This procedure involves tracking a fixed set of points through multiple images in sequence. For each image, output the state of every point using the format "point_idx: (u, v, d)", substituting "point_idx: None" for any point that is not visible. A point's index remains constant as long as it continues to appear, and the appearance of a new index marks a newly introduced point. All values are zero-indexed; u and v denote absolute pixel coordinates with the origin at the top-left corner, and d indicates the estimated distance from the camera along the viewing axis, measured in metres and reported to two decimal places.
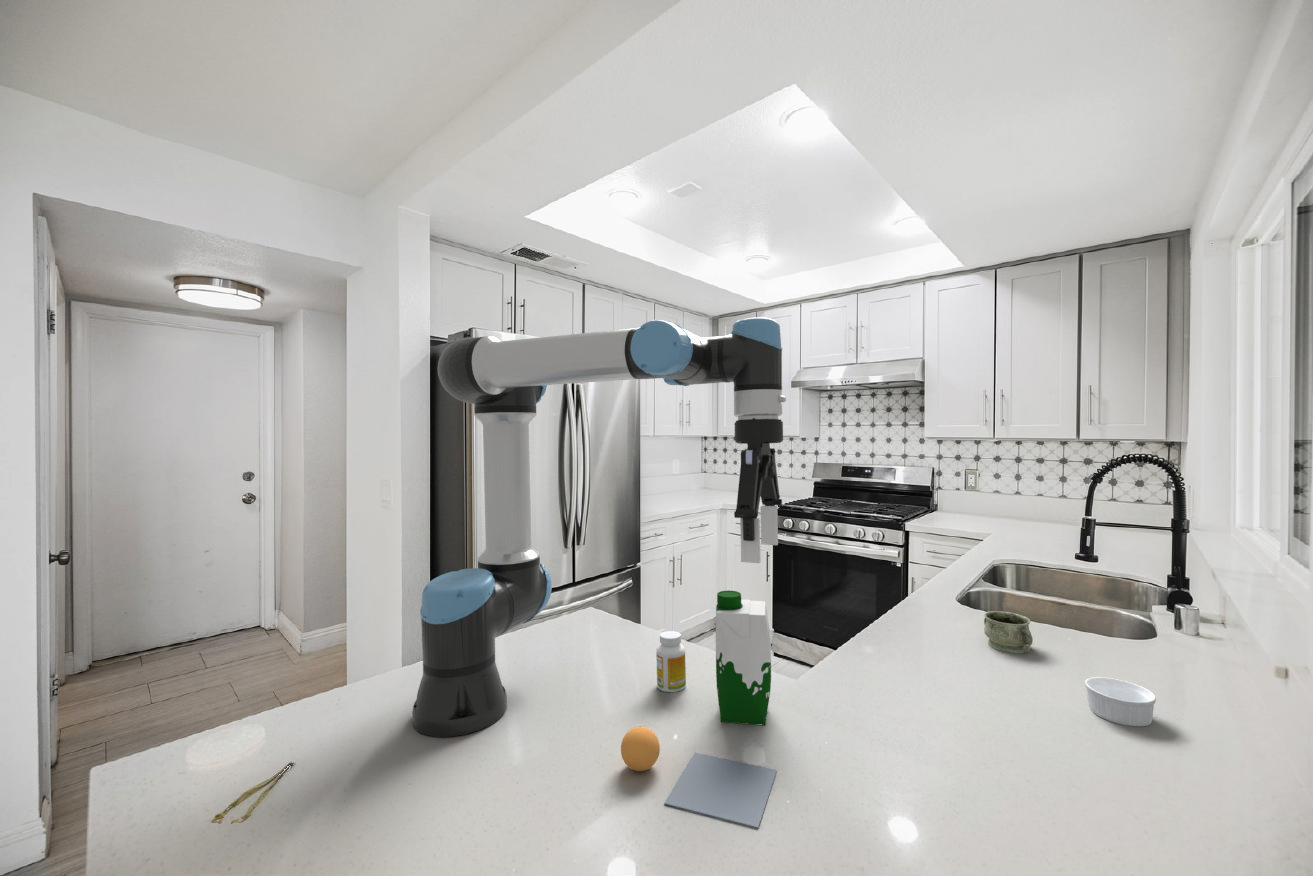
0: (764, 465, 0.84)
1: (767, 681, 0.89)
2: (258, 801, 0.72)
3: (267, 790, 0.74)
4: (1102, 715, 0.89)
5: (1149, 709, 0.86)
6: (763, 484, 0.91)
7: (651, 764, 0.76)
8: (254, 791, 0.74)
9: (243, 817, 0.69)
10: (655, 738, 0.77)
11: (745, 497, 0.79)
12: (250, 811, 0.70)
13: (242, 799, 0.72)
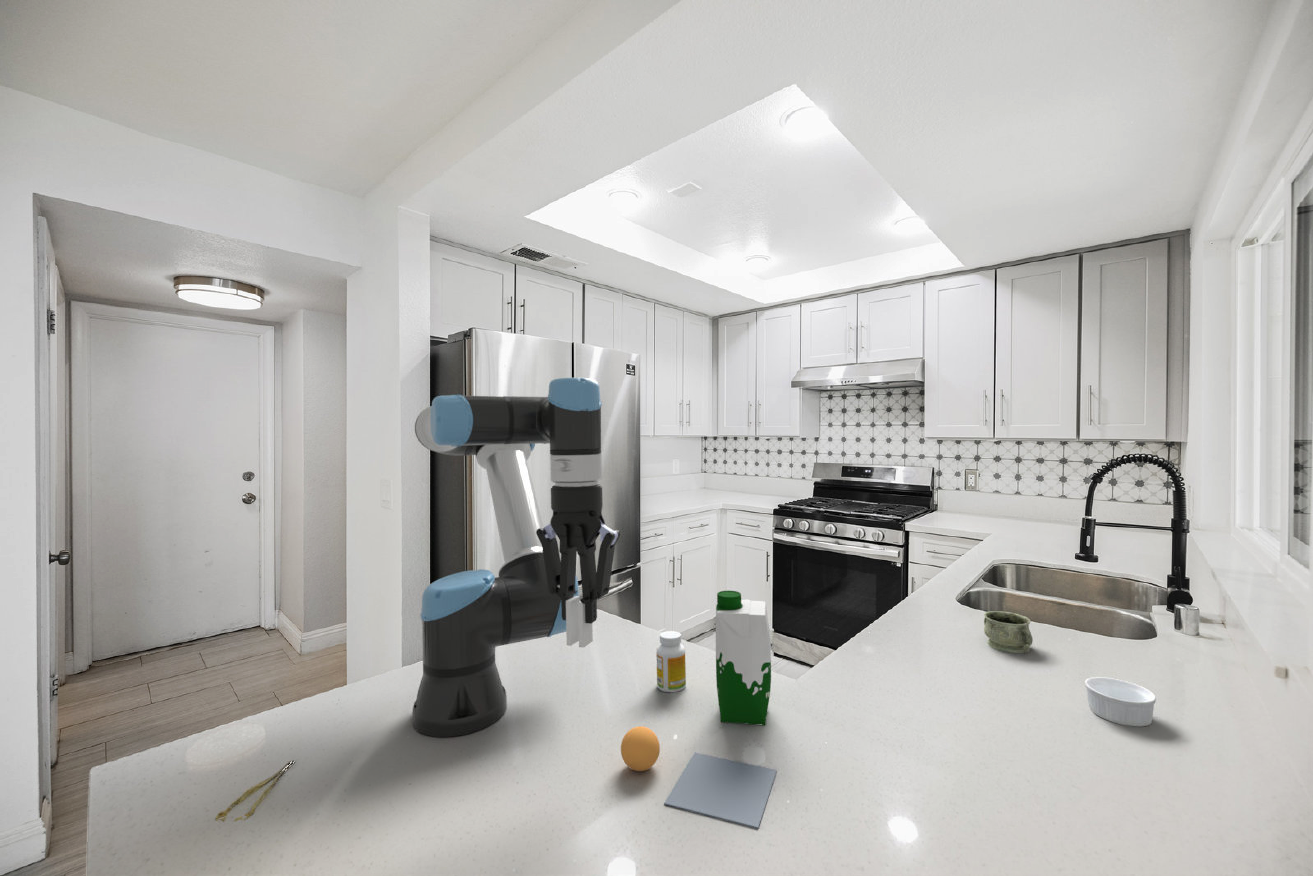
0: None
1: (767, 681, 0.89)
2: (261, 799, 0.72)
3: (269, 788, 0.74)
4: (1102, 715, 0.89)
5: (1149, 709, 0.86)
6: None
7: (651, 764, 0.76)
8: (256, 789, 0.74)
9: (247, 815, 0.70)
10: (655, 738, 0.77)
11: None
12: (253, 809, 0.70)
13: (244, 797, 0.73)
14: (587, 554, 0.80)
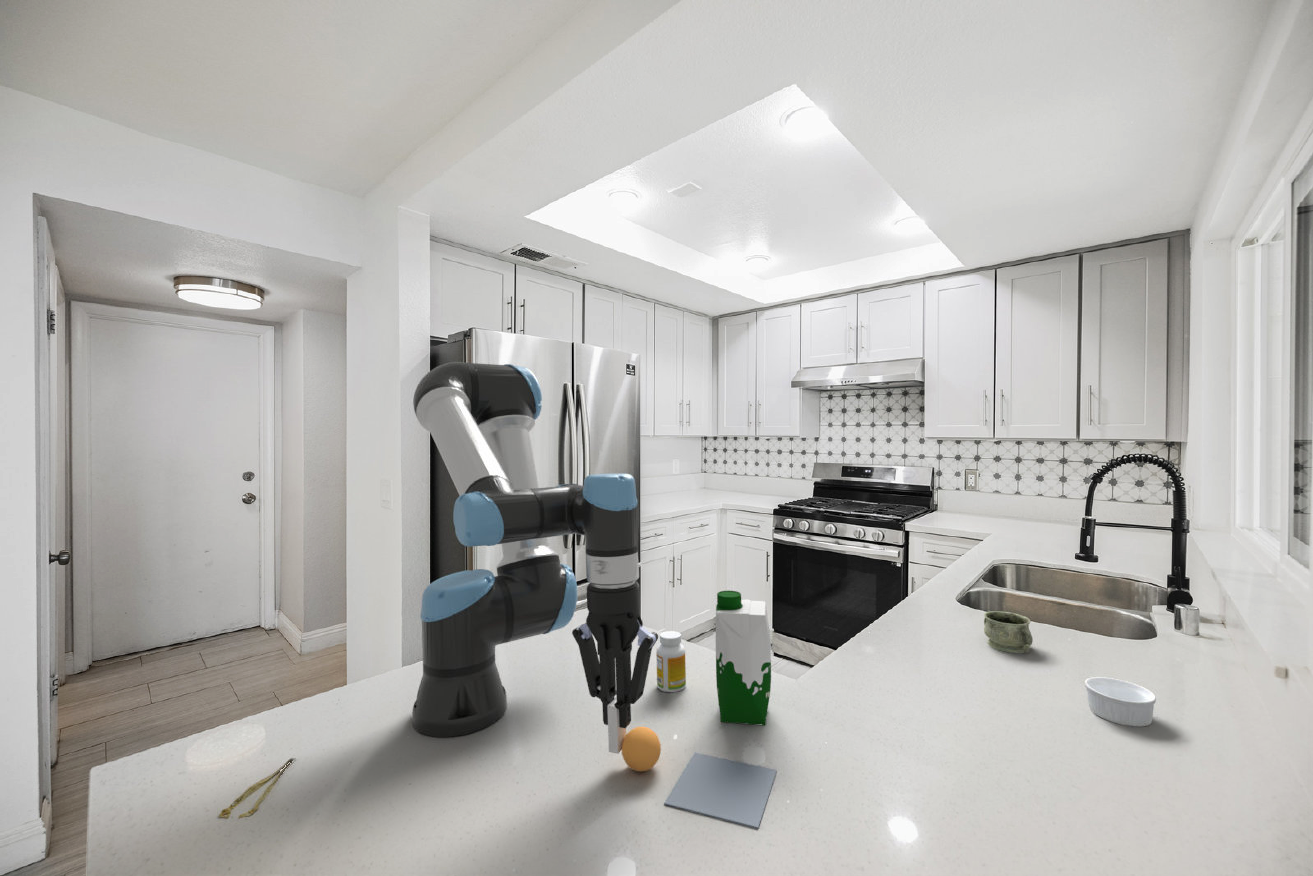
0: None
1: (767, 681, 0.89)
2: (264, 796, 0.73)
3: (271, 785, 0.75)
4: (1102, 715, 0.89)
5: (1149, 709, 0.86)
6: None
7: (652, 764, 0.76)
8: (258, 786, 0.75)
9: (250, 811, 0.70)
10: (656, 738, 0.77)
11: None
12: (257, 805, 0.71)
13: (247, 794, 0.73)
14: (623, 657, 0.77)
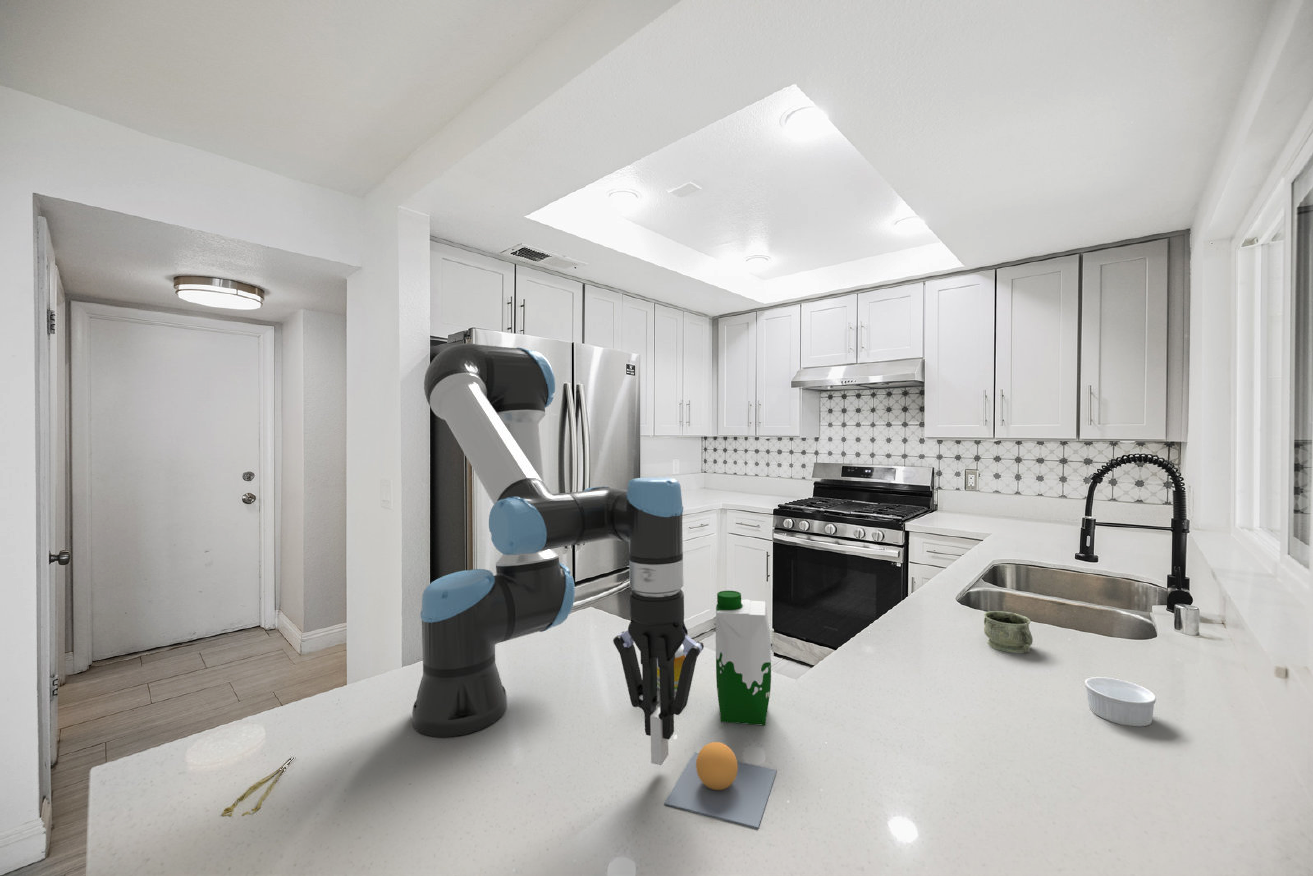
0: None
1: (767, 681, 0.89)
2: (266, 794, 0.73)
3: (273, 783, 0.75)
4: (1102, 715, 0.89)
5: (1149, 709, 0.86)
6: None
7: (709, 751, 0.73)
8: (259, 785, 0.75)
9: (254, 809, 0.71)
10: None
11: None
12: (260, 803, 0.71)
13: (248, 793, 0.74)
14: (668, 667, 0.75)
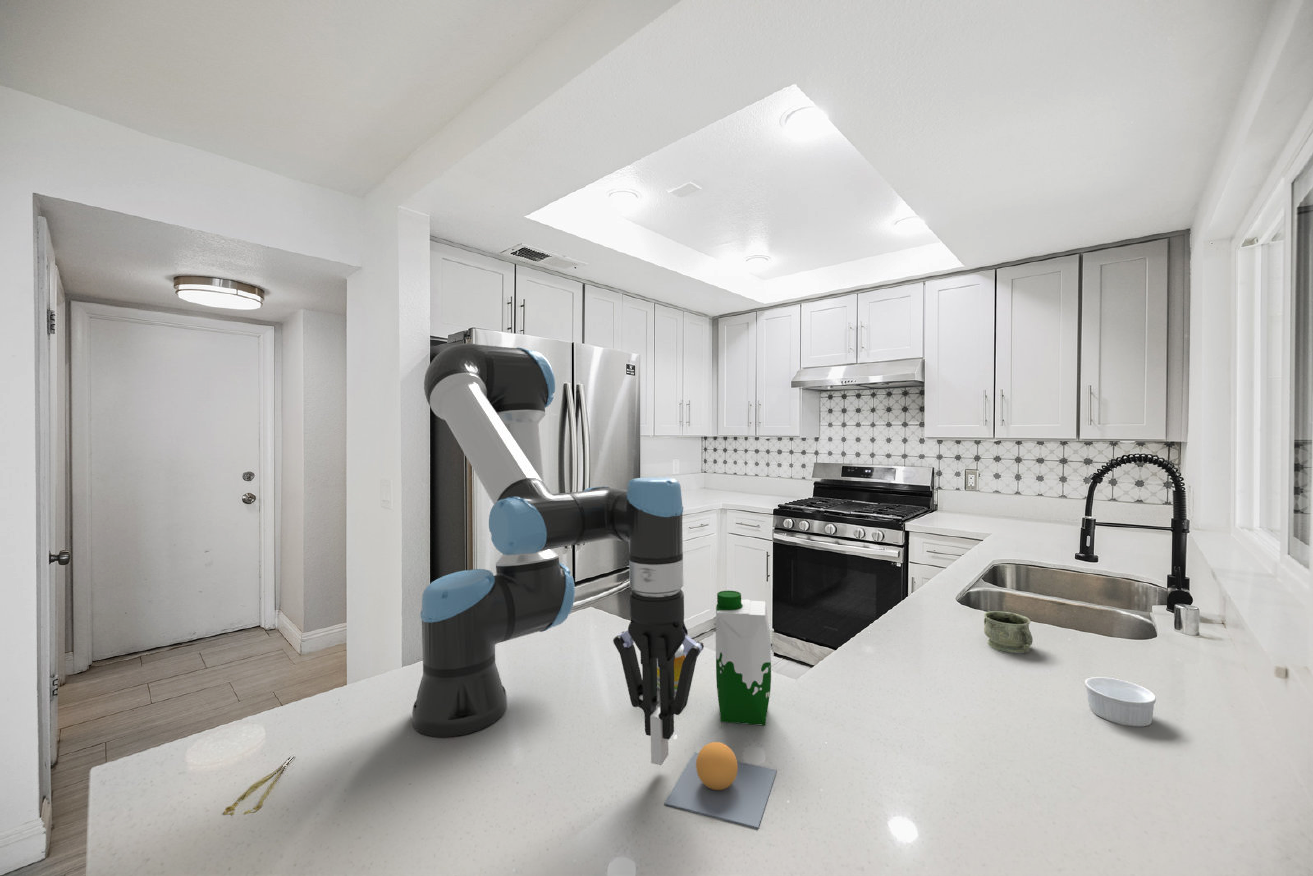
0: None
1: (767, 681, 0.89)
2: (267, 793, 0.73)
3: (274, 782, 0.76)
4: (1102, 715, 0.89)
5: (1149, 709, 0.86)
6: None
7: (709, 751, 0.73)
8: (260, 784, 0.75)
9: (255, 808, 0.71)
10: None
11: None
12: (261, 802, 0.72)
13: (249, 792, 0.74)
14: (668, 667, 0.75)
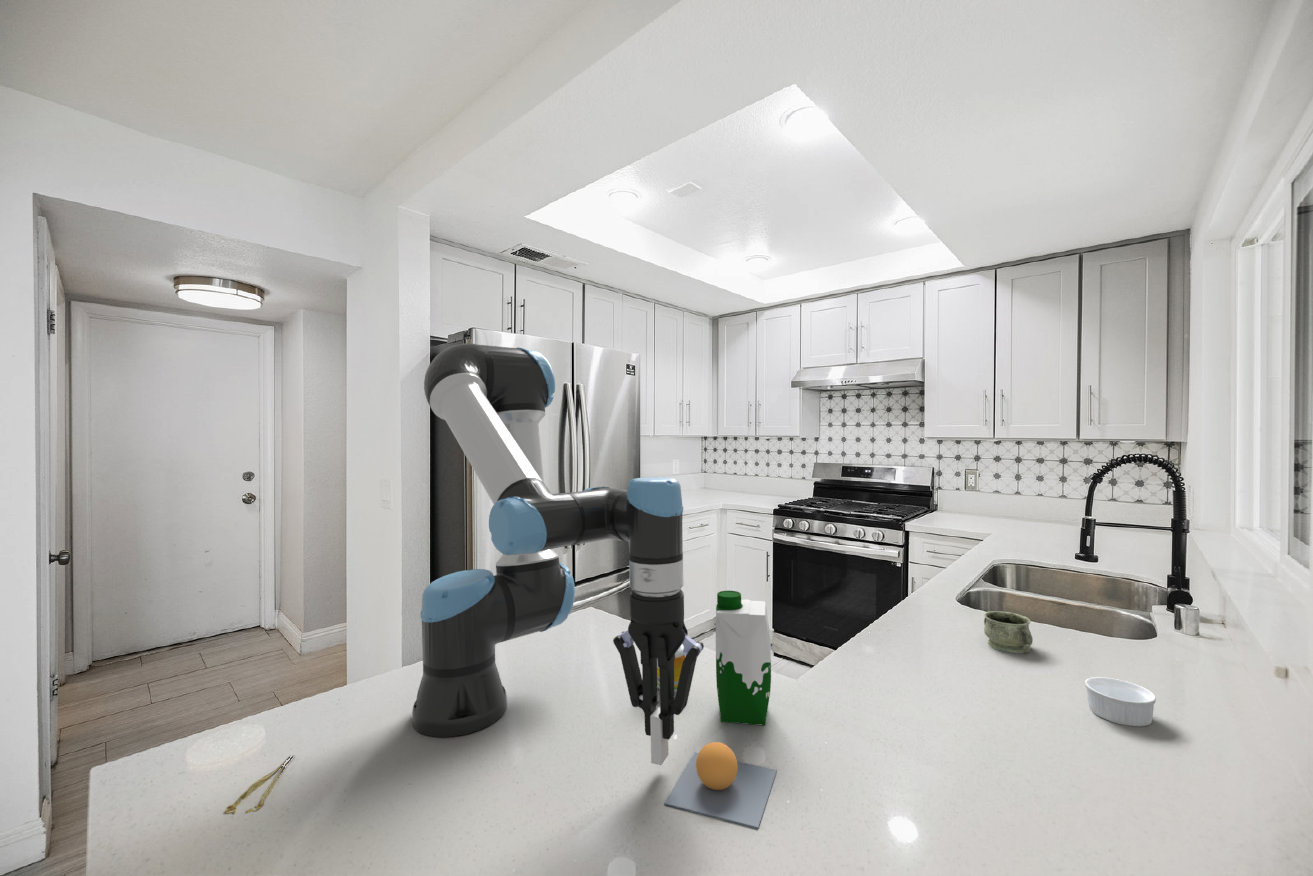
0: None
1: (767, 681, 0.89)
2: (268, 791, 0.74)
3: (274, 781, 0.76)
4: (1102, 715, 0.89)
5: (1149, 709, 0.86)
6: None
7: (709, 751, 0.73)
8: (260, 783, 0.76)
9: (257, 806, 0.71)
10: None
11: None
12: (263, 800, 0.72)
13: (250, 791, 0.74)
14: (668, 667, 0.75)
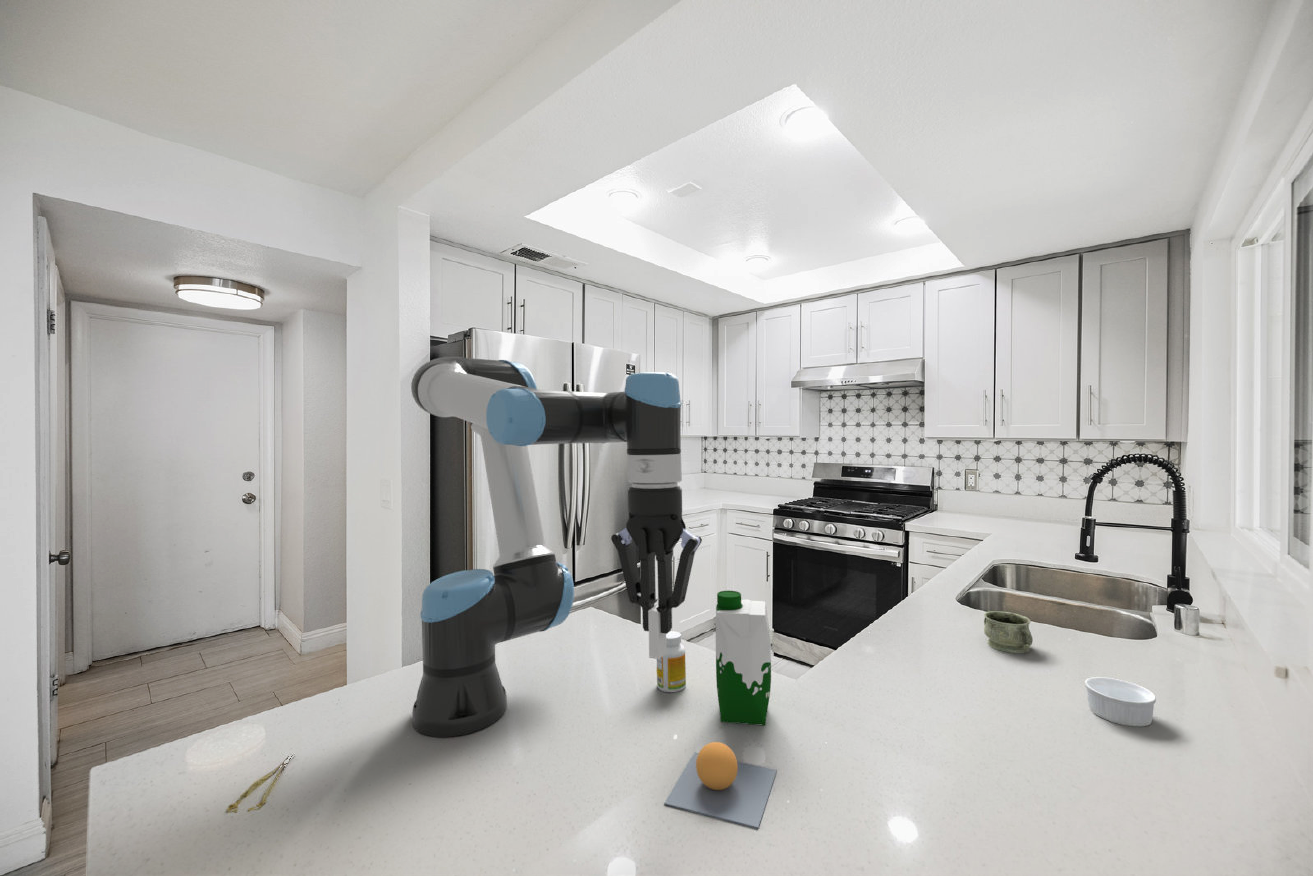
0: None
1: (767, 681, 0.89)
2: (269, 790, 0.74)
3: (275, 780, 0.76)
4: (1102, 715, 0.89)
5: (1149, 709, 0.86)
6: None
7: (709, 751, 0.73)
8: (261, 782, 0.76)
9: (259, 805, 0.71)
10: None
11: None
12: (264, 799, 0.72)
13: (251, 790, 0.74)
14: (666, 560, 0.75)
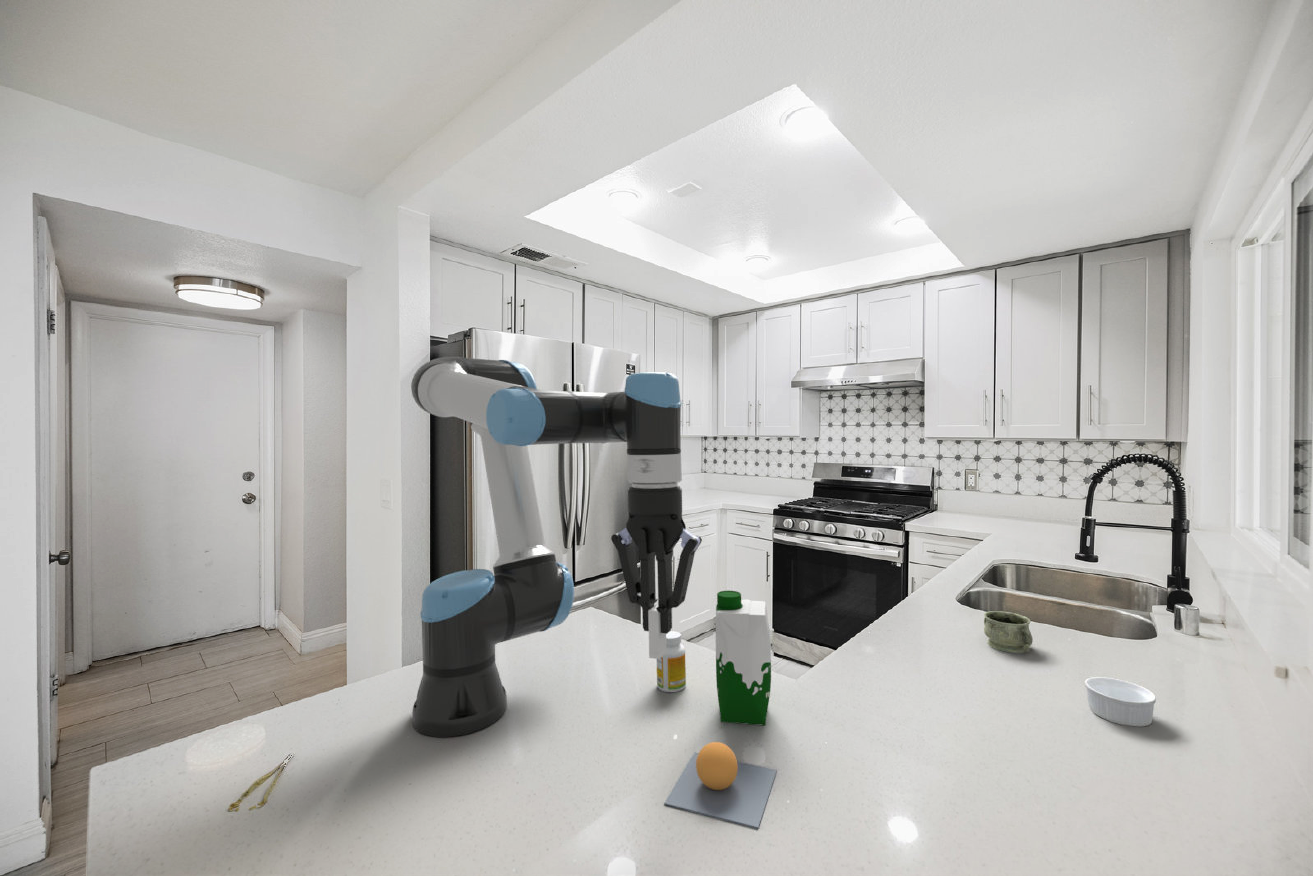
0: None
1: (767, 681, 0.89)
2: (271, 789, 0.74)
3: (276, 779, 0.76)
4: (1102, 715, 0.89)
5: (1149, 709, 0.86)
6: None
7: (709, 751, 0.73)
8: (262, 781, 0.76)
9: (260, 803, 0.72)
10: None
11: None
12: (266, 798, 0.73)
13: (252, 789, 0.74)
14: (666, 560, 0.75)
